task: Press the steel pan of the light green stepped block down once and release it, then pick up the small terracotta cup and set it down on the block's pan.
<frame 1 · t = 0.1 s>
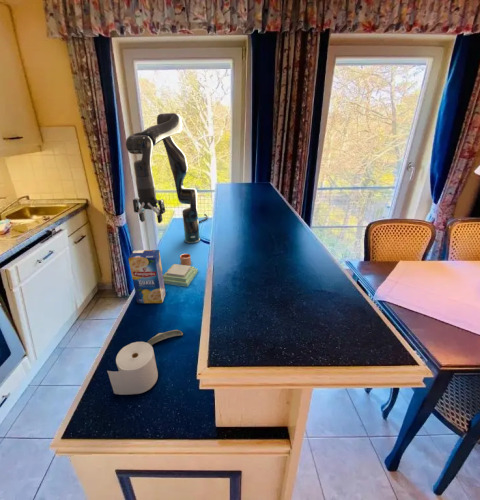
hand: (151, 221, 126), 29 cm above the table, tool pointing down, fingers open, 8 cm apart
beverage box: (152, 298, 123), on the table
terracotta cup: (186, 264, 150), on the table
ceramic fragment: (164, 341, 100), on the table
light green stepped block: (179, 277, 138), on the table
scale pan: (178, 270, 136), point 4 cm above the table, slide at 0.0 cm
toilet tissue: (139, 381, 85), on the table
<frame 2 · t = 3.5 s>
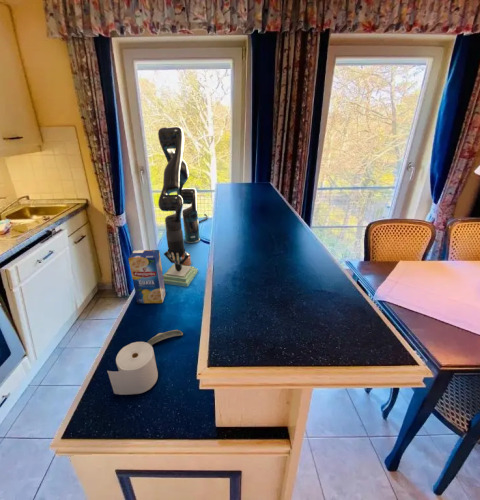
hand: (178, 270, 136), 4 cm above the table, tool pointing down, fingers closed
scale pan: (179, 271, 136), point 3 cm above the table, slide at -0.5 cm, touching gripper
everything else where it was.
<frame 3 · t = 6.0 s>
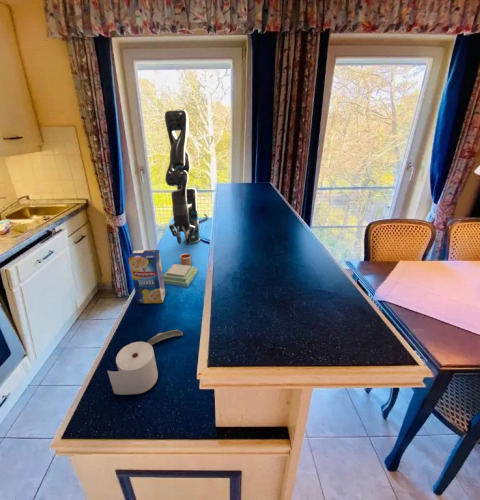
hand: (183, 243, 144), 12 cm above the table, tool pointing down, fingers open, 4 cm apart
scale pan: (178, 270, 136), point 4 cm above the table, slide at 0.0 cm
everything else where it was.
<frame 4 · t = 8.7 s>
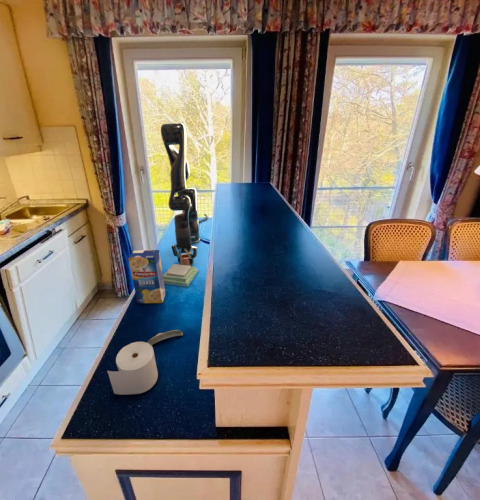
hand: (185, 263, 149), 1 cm above the table, tool pointing down, fingers closed on terracotta cup, 5 cm apart
terracotta cup: (186, 264, 150), on the table, touching gripper
everything else where it was.
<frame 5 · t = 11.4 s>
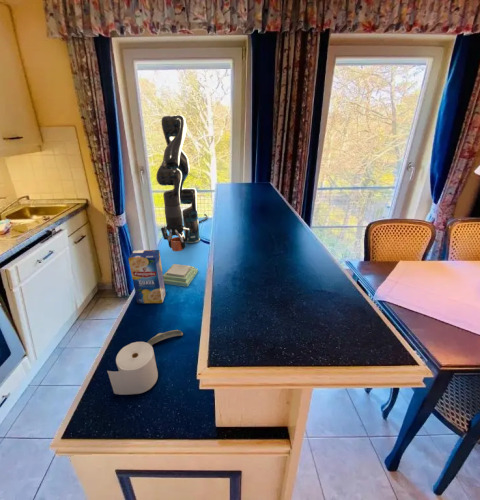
hand: (177, 247, 133), 15 cm above the table, tool pointing down, fingers closed on terracotta cup, 5 cm apart
terracotta cup: (177, 248, 133), point 15 cm above the table, touching gripper
everything else where it was.
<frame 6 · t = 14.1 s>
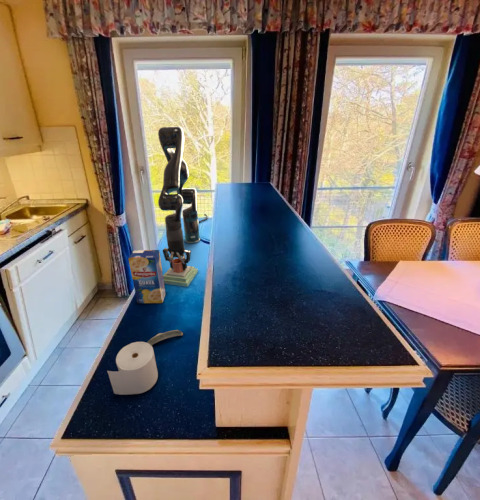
hand: (178, 268, 136), 5 cm above the table, tool pointing down, fingers closed on terracotta cup, 5 cm apart
terracotta cup: (178, 269, 136), point 4 cm above the table, touching gripper, scale pan
scale pan: (179, 271, 136), point 4 cm above the table, slide at -0.2 cm, touching terracotta cup
everything else where it was.
when the fingers open (5 cm above the table, at t = 14.2 s): terracotta cup stays where it is, resting on scale pan.
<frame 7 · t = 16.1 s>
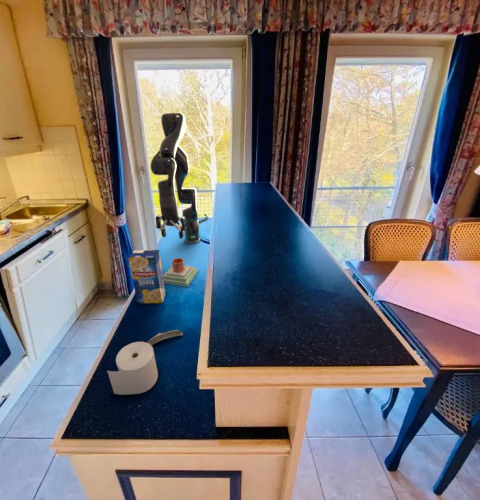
hand: (172, 237, 132), 20 cm above the table, tool pointing down, fingers open, 8 cm apart
terracotta cup: (178, 269, 136), point 4 cm above the table, touching scale pan
everything else where it was.
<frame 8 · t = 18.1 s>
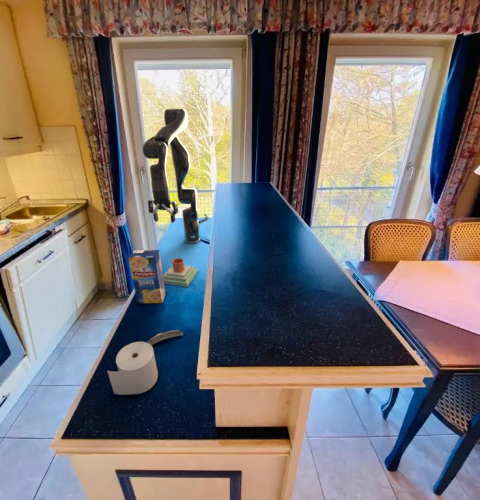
hand: (164, 221, 134), 26 cm above the table, tool pointing down, fingers open, 8 cm apart
nothing on the table moved.
at the end: scale pan pushed in 0.9 cm at the most during the clip, back to 0.2 cm at the end; terracotta cup 0.0 cm off-centre on the light green stepped block, point 4.4 cm above the light green stepped block's base; terracotta cup tilted 0° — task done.
